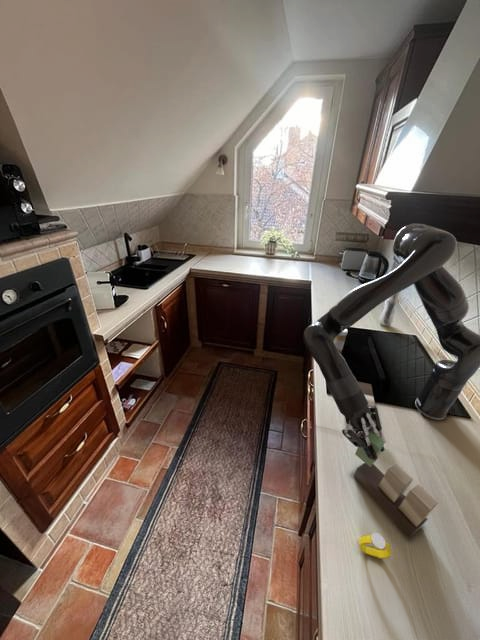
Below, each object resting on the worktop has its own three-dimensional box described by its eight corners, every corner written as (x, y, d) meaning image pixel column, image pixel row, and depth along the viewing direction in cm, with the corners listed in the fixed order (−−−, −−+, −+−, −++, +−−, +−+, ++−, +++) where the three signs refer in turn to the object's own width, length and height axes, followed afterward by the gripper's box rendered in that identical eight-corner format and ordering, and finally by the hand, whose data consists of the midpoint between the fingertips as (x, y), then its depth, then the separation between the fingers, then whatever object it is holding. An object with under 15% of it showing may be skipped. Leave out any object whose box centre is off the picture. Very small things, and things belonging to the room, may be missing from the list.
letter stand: (365, 467, 73) (377, 441, 67) (421, 526, 61) (442, 501, 55) (353, 475, 71) (365, 450, 65) (408, 538, 59) (429, 514, 53)
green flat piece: (370, 467, 66) (379, 448, 62) (354, 454, 69) (362, 435, 65) (376, 460, 68) (385, 441, 64) (360, 448, 71) (368, 429, 67)
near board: (344, 380, 105) (349, 363, 100) (370, 386, 102) (377, 368, 98) (348, 428, 85) (355, 410, 80) (380, 436, 82) (389, 418, 78)
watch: (384, 550, 57) (393, 538, 54) (387, 565, 55) (396, 554, 52) (356, 539, 59) (363, 527, 56) (357, 554, 56) (364, 542, 53)
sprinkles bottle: (333, 349, 123) (340, 325, 117) (342, 353, 121) (349, 329, 114) (329, 353, 120) (335, 329, 114) (338, 357, 118) (345, 333, 111)
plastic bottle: (388, 328, 141) (401, 296, 131) (376, 324, 145) (387, 292, 135) (392, 324, 145) (404, 292, 135) (379, 320, 149) (390, 288, 139)
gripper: (342, 403, 60) (377, 474, 58) (372, 379, 68) (403, 440, 66) (319, 405, 67) (350, 469, 64) (349, 382, 74) (377, 438, 72)
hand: (377, 454), depth 65 cm, fingers closed on green flat piece, 3 cm apart
